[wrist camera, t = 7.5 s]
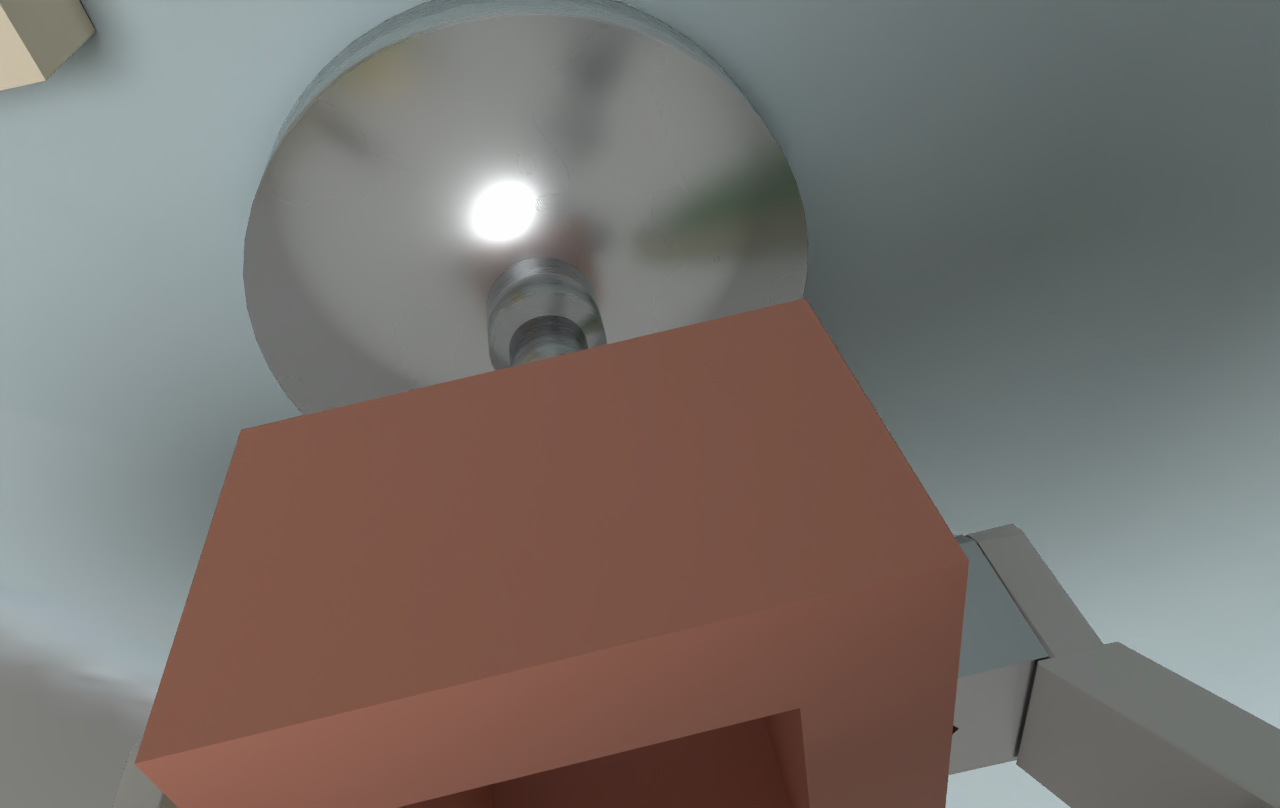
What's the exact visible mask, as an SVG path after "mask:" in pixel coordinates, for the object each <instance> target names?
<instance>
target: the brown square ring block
mask: <svg viewBox="0 0 1280 808" xmlns="http://www.w3.org/2000/svg"><path fill="white" fill-rule="evenodd" d="M968 567H969V560H968V558H967V556H966V555H965V553H964V551H963V550H962V548H961V547H960V545H959V543H958V542H957V540H956V539H955V537H954V535H953V534H952V532H951V531H950V529H949V527H948V526H947V524H946V523H945V521H944V519H943V518H942V516H941V515H940V513H939V511H938V510H937V508H936V507H935V505H934V503H933V502H932V500H931V499H930V497H929V495H928V494H927V492H926V491H925V489H924V487H923V486H922V484H921V482H920V481H919V479H918V478H917V476H916V474H915V473H914V471H913V470H912V468H911V466H910V465H909V463H908V462H907V460H906V458H905V457H904V455H903V454H902V452H901V450H900V449H899V447H898V446H897V444H896V442H895V441H894V439H893V438H892V436H891V434H890V433H889V431H888V430H887V428H886V426H885V425H884V423H883V422H882V420H881V418H880V417H879V415H878V414H877V412H876V410H875V409H874V407H873V405H872V404H871V402H870V401H869V399H868V397H867V396H866V394H865V393H864V391H863V389H862V388H861V386H860V385H859V383H858V381H857V380H856V378H855V377H854V375H853V373H852V372H851V370H850V369H849V367H848V365H847V364H846V362H845V361H844V359H843V357H842V356H841V354H840V353H839V351H838V349H837V348H836V346H835V345H834V343H833V341H832V340H831V338H830V337H829V335H828V333H827V332H826V330H825V328H824V327H823V325H822V324H821V322H820V320H819V319H818V317H817V316H816V314H815V312H814V311H813V309H812V308H811V306H810V304H809V303H808V301H807V300H806V298H803V299H799V300H794V301H790V302H786V303H782V304H777V305H773V306H769V307H764V308H760V309H756V310H752V311H747V312H743V313H739V314H735V315H730V316H726V317H722V318H717V319H713V320H709V321H705V322H700V323H696V324H692V325H688V326H683V327H679V328H675V329H670V330H666V331H662V332H658V333H653V334H649V335H645V336H641V337H636V338H632V339H628V340H623V341H619V342H615V343H611V344H606V345H602V346H598V347H594V348H589V349H585V350H581V351H577V352H572V353H568V354H564V355H559V356H555V357H551V358H547V359H542V360H538V361H534V362H530V363H525V364H521V365H517V366H512V367H508V368H504V369H500V370H495V371H491V372H487V373H483V374H478V375H474V376H470V377H465V378H461V379H457V380H453V381H448V382H444V383H440V384H436V385H431V386H427V387H423V388H418V389H414V390H410V391H406V392H401V393H397V394H393V395H389V396H384V397H380V398H376V399H371V400H367V401H363V402H359V403H354V404H350V405H346V406H342V407H337V408H333V409H329V410H324V411H320V412H316V413H312V414H307V415H303V416H299V417H295V418H290V419H286V420H282V421H277V422H273V423H269V424H265V425H260V426H256V427H252V428H248V429H243V430H241V432H240V435H239V438H238V441H237V444H236V447H235V451H234V454H233V457H232V460H231V463H230V466H229V469H228V473H227V476H226V479H225V482H224V485H223V488H222V491H221V494H220V498H219V501H218V504H217V507H216V510H215V513H214V516H213V519H212V523H211V526H210V529H209V532H208V535H207V538H206V541H205V544H204V548H203V551H202V554H201V557H200V560H199V563H198V566H197V570H196V573H195V576H194V579H193V582H192V585H191V588H190V591H189V595H188V598H187V601H186V604H185V607H184V610H183V613H182V616H181V620H180V623H179V626H178V629H177V632H176V635H175V638H174V641H173V645H172V648H171V651H170V654H169V657H168V660H167V663H166V667H165V670H164V673H163V676H162V679H161V682H160V685H159V688H158V692H157V695H156V698H155V701H154V704H153V707H152V710H151V713H150V717H149V720H148V723H147V726H146V729H145V732H144V735H143V738H142V742H141V745H140V748H139V751H138V754H137V757H136V760H135V765H136V766H137V767H138V768H139V769H140V770H141V771H142V772H143V773H144V774H145V775H146V776H147V777H148V778H149V779H150V780H151V781H152V782H153V783H154V784H155V785H156V786H157V787H158V788H159V789H160V790H161V791H162V792H163V793H164V794H165V795H166V796H167V797H168V798H169V799H170V800H171V801H172V802H173V803H174V804H175V805H176V806H177V807H178V808H945V804H946V794H947V783H948V773H949V763H950V753H951V742H952V732H953V722H954V711H955V701H956V691H957V680H958V670H959V660H960V650H961V639H962V629H963V619H964V608H965V598H966V588H967V577H968Z"/></svg>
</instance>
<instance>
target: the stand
mask: <svg viewBox="0 0 1280 808" xmlns="http://www.w3.org/2000/svg"><path fill="white" fill-rule="evenodd" d="M95 32H96V31H95V29H94V27H93V25H92V23H91V21H90V20H89V18H88V16H87V14H86V12H85V10H84V8H83V7H82V5H81V3H80V1H79V0H0V91H1V90H5V89H10V88H15V87H19V86H24V85H28V84H33V83H38V82H42V81H46V80H47V79H48V78H49V77H50V76H51V75H52V74H53V73H54V72H55V71H56V70H57V69H58V68H59V67H60V66H61V65H62V64H63V63H64V62H65V61H66V60H67V59H68V58H69V57H70V56H71V55H72V54H73V53H74V52H75V51H76V50H77V49H78V48H79V47H80V46H81V45H83V44H84V43H85V42H86V41H87V40H88V39H89V38H90V37H91V36H92V35H93V34H94V33H95Z"/></svg>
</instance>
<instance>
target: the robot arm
mask: <svg viewBox="0 0 1280 808" xmlns="http://www.w3.org/2000/svg"><path fill="white" fill-rule="evenodd" d="M955 539H956V540H957V542H958V543H959V545H960V547H961V548H962V550H963V551H964V553H965V555H966V556H967V558H968V560H969V567H968V577H967V588H966V598H965V608H964V619H963V629H962V639H961V650H960V660H959V670H958V680H957V691H956V701H955V711H954V722H953V732H952V742H951V753H950V763H949V773H948V775H951V774H955V773H960V772H964V771H969V770H973V769H978V768H982V767H986V766H991V765H995V764H1000V763H1004V762H1009V761H1013V760H1017V763H1016V764H1017V765H1018V766H1019V767H1021V768H1022V769H1023V770H1024V771H1026V772H1027V773H1028V774H1029V775H1031V776H1032V777H1033V778H1034V779H1036V780H1037V781H1038V782H1039V783H1041V784H1042V785H1043V786H1045V787H1046V788H1047V789H1048V790H1050V791H1051V792H1052V793H1053V794H1055V795H1056V796H1057V797H1058V798H1060V799H1061V800H1062V801H1063V802H1065V803H1066V804H1067V805H1069V806H1070V807H1071V808H1280V729H1278V728H1276V727H1274V726H1272V725H1271V724H1269V723H1267V722H1265V721H1263V720H1261V719H1260V718H1258V717H1256V716H1254V715H1252V714H1250V713H1248V712H1247V711H1245V710H1243V709H1241V708H1239V707H1237V706H1236V705H1234V704H1232V703H1230V702H1228V701H1226V700H1224V699H1223V698H1221V697H1219V696H1217V695H1215V694H1213V693H1212V692H1210V691H1208V690H1206V689H1204V688H1202V687H1200V686H1199V685H1197V684H1195V683H1193V682H1191V681H1189V680H1188V679H1186V678H1184V677H1182V676H1180V675H1178V674H1176V673H1175V672H1173V671H1171V670H1169V669H1167V668H1165V667H1164V666H1162V665H1160V664H1158V663H1156V662H1154V661H1152V660H1151V659H1149V658H1147V657H1145V656H1143V655H1141V654H1140V653H1138V652H1136V651H1134V650H1132V649H1130V648H1128V647H1127V646H1125V645H1123V644H1121V643H1119V642H1114V643H1109V644H1103V643H1102V642H1101V640H1100V639H1099V637H1098V636H1097V635H1096V633H1095V632H1094V630H1093V629H1092V628H1091V626H1090V625H1089V623H1088V622H1087V621H1086V619H1085V618H1084V616H1083V615H1082V614H1081V612H1080V611H1079V609H1078V608H1077V607H1076V605H1075V604H1074V602H1073V601H1072V600H1071V598H1070V597H1069V596H1068V594H1067V593H1066V591H1065V590H1064V589H1063V587H1062V586H1061V584H1060V583H1059V582H1058V580H1057V579H1056V577H1055V576H1054V575H1053V573H1052V572H1051V570H1050V569H1049V568H1048V566H1047V565H1046V563H1045V562H1044V561H1043V559H1042V558H1041V556H1040V555H1039V554H1038V552H1037V551H1036V550H1035V548H1034V547H1033V545H1032V544H1031V543H1030V541H1029V540H1028V538H1027V537H1026V536H1025V534H1024V533H1023V531H1022V530H1020V529H1019V528H1017V527H1016V526H1014V525H1013V524H1009V525H1004V526H1000V527H996V528H992V529H988V530H984V531H980V532H977V533H973V534H969V535H966V536H964V535H959V536H956V537H955ZM142 738H143V737H141V738H140V739H139V741H138V742H137V743H136V745H135V746H134V747H133V749H132V750H131V751H130V753H129V755H128V758H127V761H126V764H125V768H124V771H123V774H122V777H121V780H120V783H119V786H118V790H117V793H116V796H115V799H114V802H113V805H112V808H178V807H177V806H176V805H175V804H174V803H173V802H172V801H171V800H170V799H169V798H168V797H167V796H166V795H165V794H164V793H163V792H162V791H161V790H160V789H159V788H158V787H157V786H156V785H155V784H154V783H153V782H152V781H151V780H150V779H149V778H148V777H147V776H146V775H145V774H144V773H143V772H142V771H141V770H140V769H139V768H138V767H137V766H136V765H135V760H136V757H137V754H138V751H139V748H140V745H141V742H142Z"/></svg>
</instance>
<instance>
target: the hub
mask: <svg viewBox="0 0 1280 808" xmlns="http://www.w3.org/2000/svg"><path fill="white" fill-rule="evenodd" d="M807 260H808V240H807V231H806V222H805V213H804V210H803V206H802V202H801V198H800V195H799V191H798V187H797V183H796V181H795V179H794V176H793V174H792V172H791V169H790V167H789V165H788V163H787V160H786V158H785V156H784V154H783V152H782V150H781V148H780V147H779V145H778V144H777V142H776V141H775V139H774V137H773V136H772V134H771V133H770V131H769V130H768V128H767V126H766V125H765V123H764V122H763V120H762V119H761V118H760V116H759V115H758V114H757V112H756V111H755V110H754V108H753V107H752V106H751V104H750V103H749V102H748V100H747V99H746V98H745V96H744V95H743V94H742V92H741V91H740V90H739V88H738V87H737V86H736V85H735V84H734V82H733V81H732V80H731V79H730V78H729V77H728V76H727V74H726V73H725V72H724V71H723V70H722V69H721V67H720V66H719V65H718V64H717V63H716V62H715V61H714V60H713V59H712V58H711V57H709V56H708V55H707V54H706V53H705V52H704V51H702V50H701V49H700V48H699V47H698V46H697V45H695V44H694V43H693V42H692V41H691V40H690V39H688V38H687V37H685V36H684V35H682V34H680V33H679V32H677V31H676V30H674V29H673V28H671V27H669V26H668V25H666V24H665V23H663V22H661V21H660V20H658V19H657V18H654V17H652V16H650V15H648V14H645V13H643V12H641V11H639V10H636V9H634V8H632V7H630V6H628V5H625V4H623V3H620V2H617V1H613V0H434V1H431V2H427V3H424V4H421V5H419V6H417V7H415V8H412V9H410V10H408V11H406V12H404V13H401V14H399V15H397V16H395V17H393V18H391V19H388V20H386V21H384V22H383V23H381V24H380V25H378V26H377V27H375V28H374V29H372V30H371V31H369V32H368V33H366V34H364V35H363V36H361V37H360V38H358V39H357V40H355V41H354V42H352V43H351V44H350V45H349V46H348V47H347V48H345V49H344V50H343V51H342V52H341V53H340V54H339V55H338V56H336V57H335V58H334V59H333V60H332V61H331V62H330V63H329V64H327V65H326V66H325V67H324V68H323V69H322V70H321V72H320V73H319V74H318V75H317V76H316V78H315V79H314V80H313V81H312V82H311V84H310V85H309V86H308V87H307V89H306V90H305V91H304V92H303V93H302V95H301V96H300V97H299V99H298V100H297V102H296V104H295V105H294V107H293V109H292V111H291V112H290V114H289V116H288V117H287V119H286V121H285V122H284V124H283V126H282V127H281V130H280V132H279V135H278V137H277V140H276V142H275V145H274V147H273V150H272V153H271V155H270V158H269V160H268V163H267V166H266V168H265V171H264V174H263V176H262V179H261V182H260V185H259V187H258V190H257V193H256V195H255V198H254V201H253V204H252V208H251V212H250V217H249V222H248V227H247V231H246V236H245V245H244V267H243V277H244V285H245V294H246V302H247V309H248V312H249V316H250V319H251V323H252V326H253V330H254V333H255V337H256V340H257V342H258V344H259V347H260V349H261V351H262V353H263V355H264V358H265V360H266V362H267V364H268V366H269V369H270V370H271V372H272V373H273V375H274V376H275V378H276V380H277V381H278V383H279V384H280V386H281V387H282V389H283V390H284V392H285V393H286V395H287V396H288V398H289V399H290V400H291V401H292V402H293V403H294V405H295V406H296V407H297V408H298V409H299V410H300V412H301V413H302V414H303V415H307V414H312V413H316V412H320V411H324V410H329V409H333V408H337V407H342V406H346V405H350V404H354V403H359V402H363V401H367V400H371V399H376V398H380V397H384V396H389V395H393V394H397V393H401V392H406V391H410V390H414V389H418V388H423V387H427V386H431V385H436V384H440V383H444V382H448V381H453V380H457V379H461V378H465V377H470V376H474V375H478V374H483V373H487V372H491V371H495V370H500V369H504V368H508V367H512V366H517V365H521V364H525V363H530V362H534V361H538V360H542V359H547V358H551V357H555V356H559V355H564V354H568V353H572V352H577V351H581V350H585V349H589V348H594V347H598V346H602V345H606V344H611V343H615V342H619V341H623V340H628V339H632V338H636V337H641V336H645V335H649V334H653V333H658V332H662V331H666V330H670V329H675V328H679V327H683V326H688V325H692V324H696V323H700V322H705V321H709V320H713V319H717V318H722V317H726V316H730V315H735V314H739V313H743V312H747V311H752V310H756V309H760V308H764V307H769V306H773V305H777V304H782V303H786V302H790V301H794V300H799V299H803V294H804V289H805V283H806V278H807Z"/></svg>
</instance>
